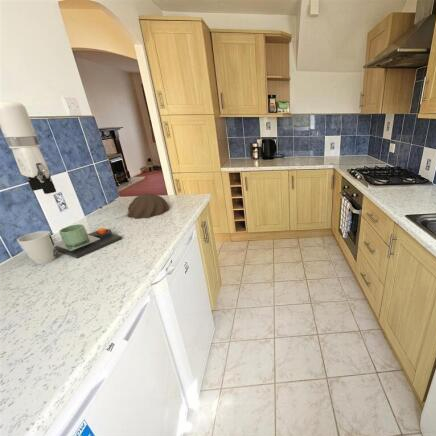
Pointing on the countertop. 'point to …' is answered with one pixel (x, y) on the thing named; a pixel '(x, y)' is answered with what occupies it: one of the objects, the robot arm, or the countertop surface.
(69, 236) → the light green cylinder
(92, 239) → the grey plate
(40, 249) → the cup
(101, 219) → the countertop surface
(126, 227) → the countertop surface
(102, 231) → the tare button
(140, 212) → the decorative dome
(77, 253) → the scale
